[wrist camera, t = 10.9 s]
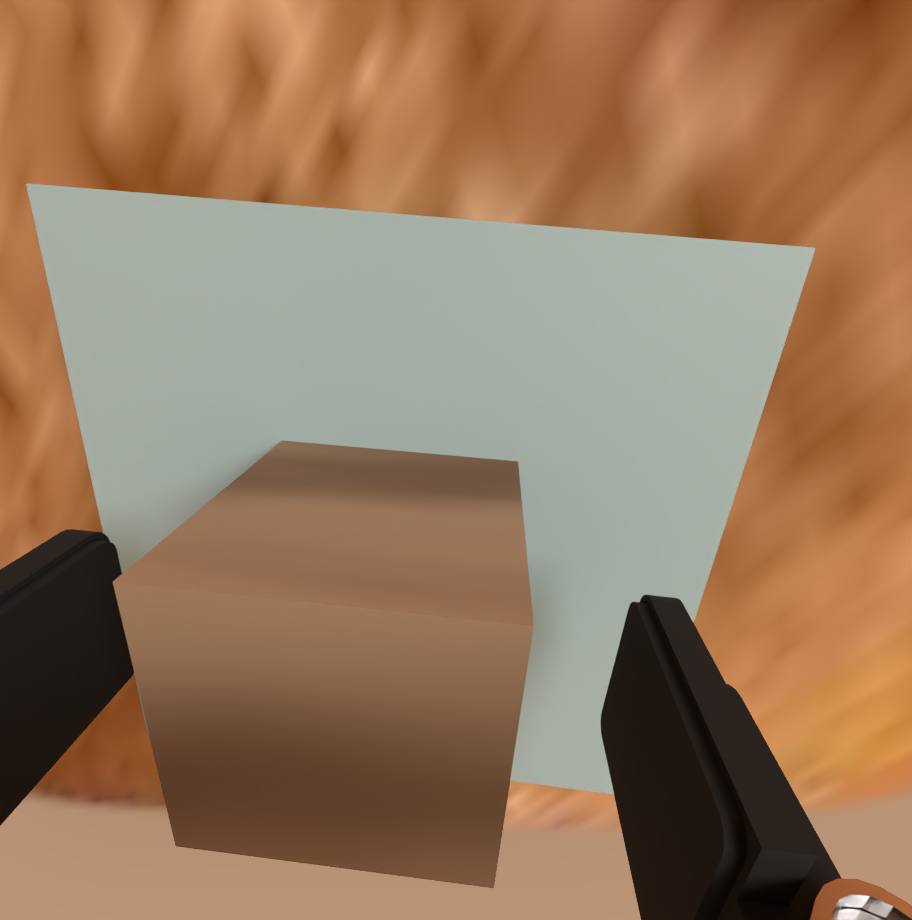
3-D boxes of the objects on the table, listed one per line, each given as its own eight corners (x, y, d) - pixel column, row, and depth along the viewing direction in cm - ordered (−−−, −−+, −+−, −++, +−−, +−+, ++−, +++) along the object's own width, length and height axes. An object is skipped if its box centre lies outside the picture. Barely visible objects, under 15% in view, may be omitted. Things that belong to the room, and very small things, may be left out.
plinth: (137, 201, 12) (26, 183, 9) (737, 250, 11) (815, 248, 8) (204, 656, 17) (147, 732, 14) (613, 706, 16) (636, 797, 14)
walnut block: (282, 440, 11) (112, 581, 6) (517, 461, 10) (534, 626, 6) (296, 628, 12) (175, 846, 8) (495, 649, 12) (493, 888, 8)
